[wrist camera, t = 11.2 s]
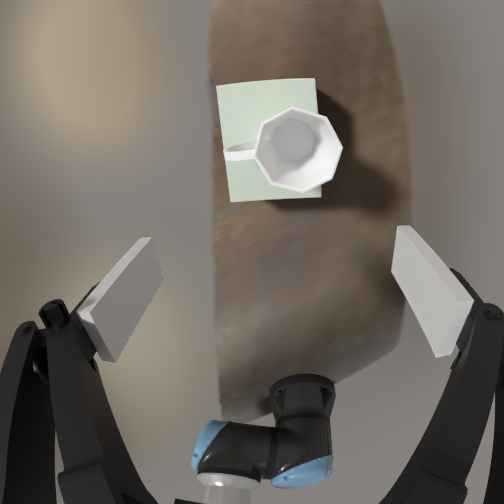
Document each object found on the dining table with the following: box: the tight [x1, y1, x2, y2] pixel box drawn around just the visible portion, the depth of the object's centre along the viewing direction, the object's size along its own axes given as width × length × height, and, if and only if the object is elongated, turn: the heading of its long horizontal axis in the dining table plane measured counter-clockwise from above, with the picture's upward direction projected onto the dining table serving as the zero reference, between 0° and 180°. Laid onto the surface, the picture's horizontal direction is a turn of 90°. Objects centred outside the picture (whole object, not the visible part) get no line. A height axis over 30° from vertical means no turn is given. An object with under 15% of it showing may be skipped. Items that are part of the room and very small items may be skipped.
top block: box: [216, 78, 321, 202], centre depth 30 cm, size 13×10×4 cm
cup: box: [223, 107, 343, 194], centre depth 24 cm, size 7×10×8 cm
